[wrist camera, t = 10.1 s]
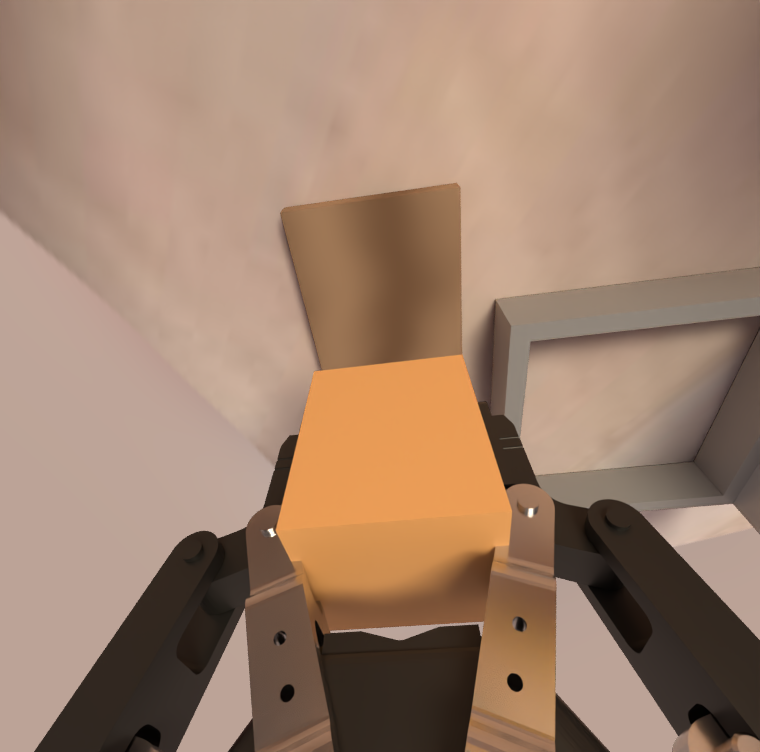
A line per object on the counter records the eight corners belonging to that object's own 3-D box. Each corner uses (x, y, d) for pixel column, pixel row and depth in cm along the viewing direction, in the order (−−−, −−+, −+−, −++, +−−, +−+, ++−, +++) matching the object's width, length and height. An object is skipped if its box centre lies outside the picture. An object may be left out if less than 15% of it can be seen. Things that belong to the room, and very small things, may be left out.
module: (342, 469, 16) (325, 630, 11) (314, 371, 13) (275, 530, 8) (464, 458, 16) (501, 620, 11) (462, 354, 13) (512, 511, 8)
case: (486, 488, 30) (552, 724, 19) (495, 299, 21) (635, 539, 10) (717, 468, 29) (935, 707, 18) (834, 258, 20) (1451, 476, 8)
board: (334, 403, 25) (333, 413, 24) (284, 207, 18) (280, 213, 17) (459, 390, 25) (462, 400, 24) (456, 182, 18) (460, 187, 17)
